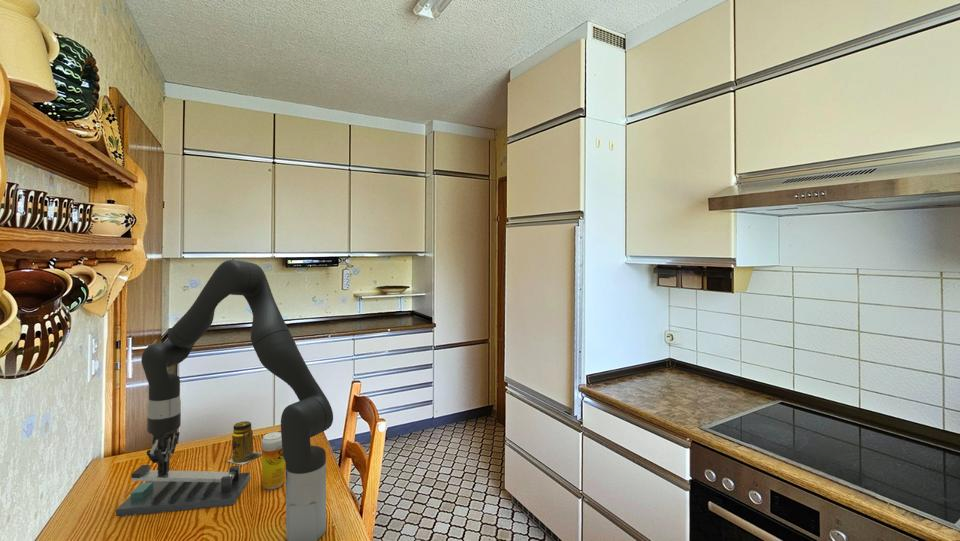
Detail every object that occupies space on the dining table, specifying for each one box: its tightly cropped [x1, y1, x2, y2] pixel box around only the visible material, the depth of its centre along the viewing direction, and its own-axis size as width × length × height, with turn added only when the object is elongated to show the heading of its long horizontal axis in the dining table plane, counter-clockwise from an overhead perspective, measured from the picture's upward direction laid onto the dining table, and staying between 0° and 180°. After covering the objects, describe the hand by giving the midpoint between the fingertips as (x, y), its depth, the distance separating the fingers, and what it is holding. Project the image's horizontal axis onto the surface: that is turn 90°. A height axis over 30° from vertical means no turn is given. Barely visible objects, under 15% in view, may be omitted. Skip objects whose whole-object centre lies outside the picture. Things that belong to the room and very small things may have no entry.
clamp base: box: [115, 465, 251, 517], centre depth 120 cm, size 14×28×6 cm, turn 102°
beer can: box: [261, 431, 286, 490], centre depth 127 cm, size 6×6×15 cm
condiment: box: [227, 421, 262, 466], centre depth 143 cm, size 7×8×12 cm
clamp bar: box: [130, 464, 236, 482], centre depth 120 cm, size 5×25×2 cm, turn 102°
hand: (163, 473), depth 119 cm, fingers closed
